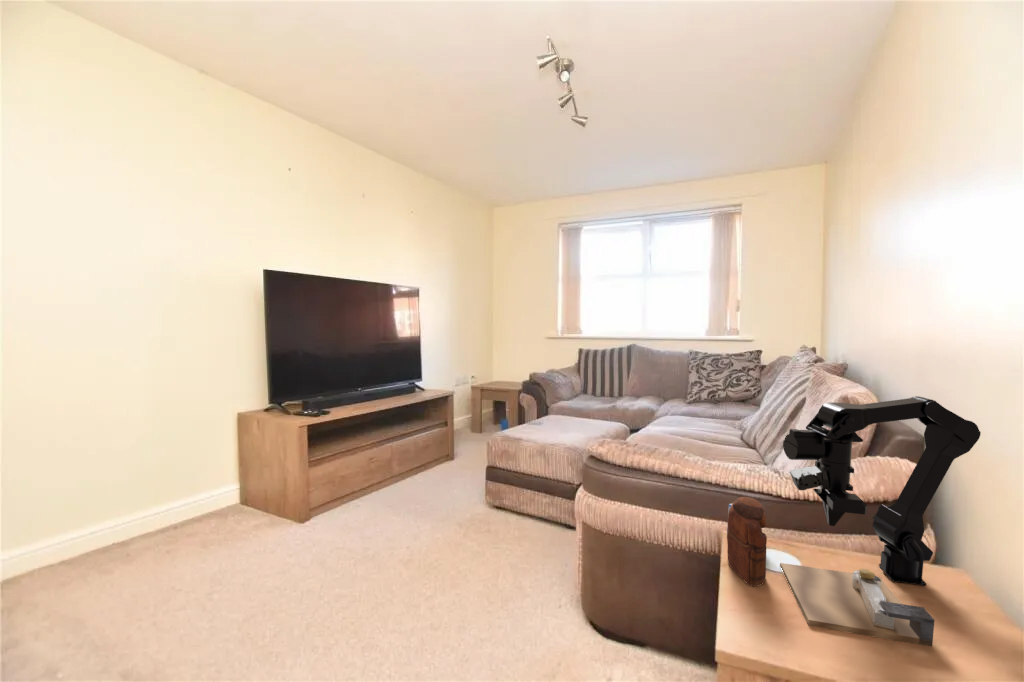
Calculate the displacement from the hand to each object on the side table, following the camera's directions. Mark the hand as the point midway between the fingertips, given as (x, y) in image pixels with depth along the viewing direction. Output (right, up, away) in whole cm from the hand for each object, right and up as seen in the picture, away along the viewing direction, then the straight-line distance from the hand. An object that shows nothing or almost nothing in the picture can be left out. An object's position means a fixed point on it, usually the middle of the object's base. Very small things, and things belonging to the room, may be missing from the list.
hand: (831, 525), depth 104 cm
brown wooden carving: (-18, -12, +2) cm, 22 cm away
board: (-3, -13, -8) cm, 16 cm away
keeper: (+1, -14, -18) cm, 23 cm away
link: (+1, -12, -11) cm, 16 cm away
